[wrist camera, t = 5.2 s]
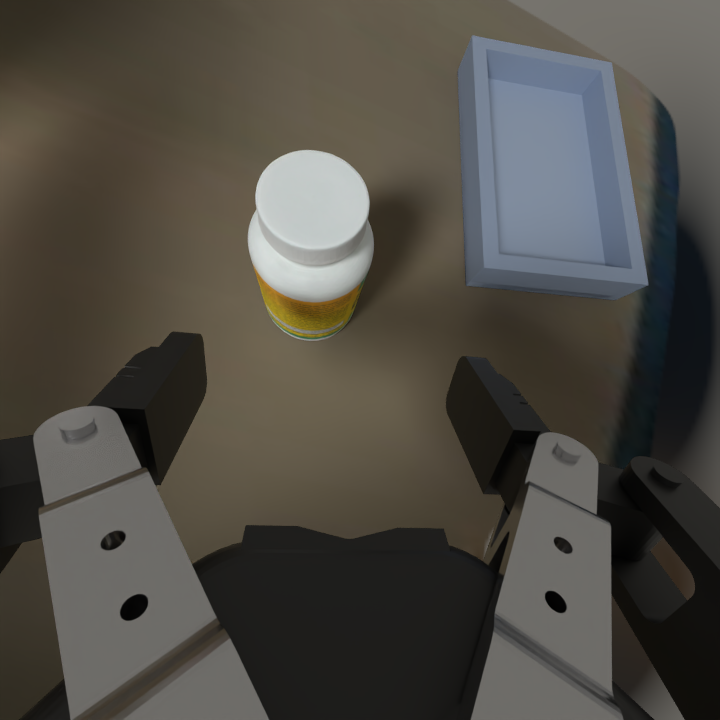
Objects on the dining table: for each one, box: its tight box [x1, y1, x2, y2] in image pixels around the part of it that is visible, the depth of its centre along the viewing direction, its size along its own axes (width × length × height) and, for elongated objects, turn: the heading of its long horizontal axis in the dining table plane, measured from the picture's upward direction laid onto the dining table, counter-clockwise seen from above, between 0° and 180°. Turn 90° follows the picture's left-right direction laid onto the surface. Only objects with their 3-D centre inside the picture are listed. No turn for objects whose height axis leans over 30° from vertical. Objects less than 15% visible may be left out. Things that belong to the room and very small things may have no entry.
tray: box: [458, 36, 648, 300], centre depth 25 cm, size 18×11×2 cm, turn 178°
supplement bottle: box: [248, 150, 374, 341], centre depth 17 cm, size 5×5×10 cm
